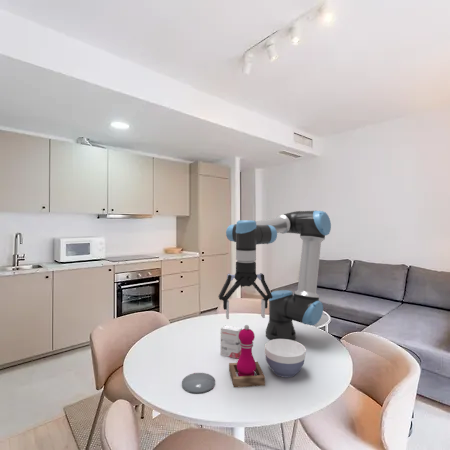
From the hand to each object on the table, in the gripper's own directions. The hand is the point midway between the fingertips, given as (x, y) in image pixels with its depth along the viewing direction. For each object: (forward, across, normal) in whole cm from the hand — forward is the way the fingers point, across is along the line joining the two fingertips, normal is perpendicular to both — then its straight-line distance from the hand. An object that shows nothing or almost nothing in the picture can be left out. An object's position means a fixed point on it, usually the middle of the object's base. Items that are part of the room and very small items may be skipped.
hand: (245, 317), depth 109 cm
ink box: (+23, +3, -19) cm, 30 cm away
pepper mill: (+23, 0, 0) cm, 23 cm away
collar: (+23, 0, 0) cm, 23 cm away
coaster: (+23, +18, +2) cm, 29 cm away
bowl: (+23, -16, -3) cm, 28 cm away
